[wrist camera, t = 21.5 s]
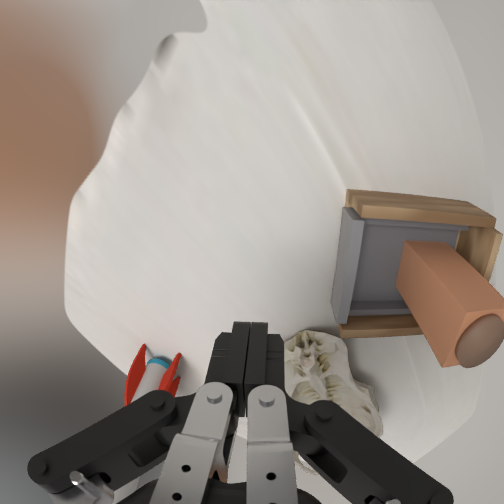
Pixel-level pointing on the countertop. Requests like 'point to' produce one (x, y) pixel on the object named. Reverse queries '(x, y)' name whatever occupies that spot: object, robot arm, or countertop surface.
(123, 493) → the toy rocket
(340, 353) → the anatomical model
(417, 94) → the countertop surface
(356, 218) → the tray
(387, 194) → the dock
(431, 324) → the tin
